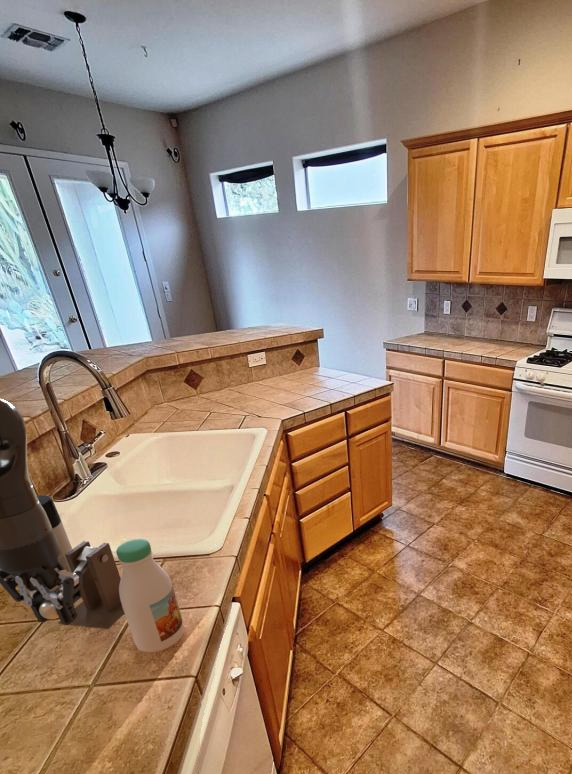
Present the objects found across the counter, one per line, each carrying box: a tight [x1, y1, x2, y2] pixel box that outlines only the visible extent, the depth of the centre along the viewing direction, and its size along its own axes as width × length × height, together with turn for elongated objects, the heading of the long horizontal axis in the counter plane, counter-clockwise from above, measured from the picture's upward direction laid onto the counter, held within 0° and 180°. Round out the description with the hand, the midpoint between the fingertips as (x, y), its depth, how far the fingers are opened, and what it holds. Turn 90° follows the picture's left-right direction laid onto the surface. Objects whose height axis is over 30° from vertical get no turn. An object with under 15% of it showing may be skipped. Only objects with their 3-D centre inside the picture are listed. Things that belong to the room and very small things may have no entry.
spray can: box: [36, 494, 73, 591], centre depth 83 cm, size 7×7×20 cm
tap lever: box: [39, 546, 98, 620], centre depth 74 cm, size 13×4×4 cm, turn 172°
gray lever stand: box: [57, 540, 125, 630], centre depth 80 cm, size 12×10×14 cm
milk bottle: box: [115, 538, 185, 653], centre depth 72 cm, size 8×8×20 cm
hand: (58, 619), depth 72 cm, fingers open, 3 cm apart
